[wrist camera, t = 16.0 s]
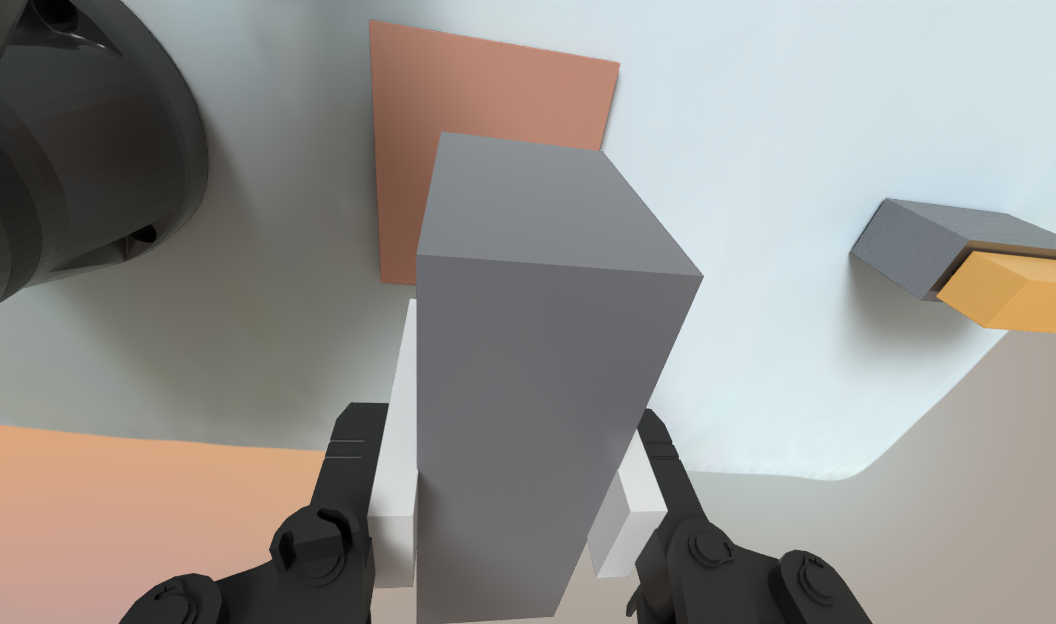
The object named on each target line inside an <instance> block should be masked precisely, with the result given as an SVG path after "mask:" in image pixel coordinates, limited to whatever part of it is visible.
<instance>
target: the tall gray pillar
mask: <svg viewBox="0 0 1056 624" xmlns="http://www.w3.org/2000/svg"><path fill="white" fill-rule="evenodd" d="M703 277H704V276H703V274H702V273H701V272H700V271H699V269H698V268H697V267H696V266H695V264H694V263H693V262H692V261H691V260H690V258H689V257H688V256H687V255H686V253H685V252H684V251H683V250H682V248H681V247H680V246H679V245H678V244H677V242H676V241H675V240H674V239H673V237H672V236H671V235H670V234H669V232H668V231H667V230H666V229H665V228H664V226H663V225H662V224H661V223H660V221H659V220H658V219H657V218H656V217H655V215H654V214H653V213H652V212H651V210H650V209H649V208H648V207H647V205H646V204H645V203H644V202H643V201H642V199H641V198H640V197H639V196H638V194H637V193H636V192H635V191H634V189H633V188H632V187H631V186H630V185H629V183H628V182H627V181H626V180H625V178H624V177H623V176H622V175H621V173H620V172H619V171H618V170H617V169H616V167H615V166H614V165H613V164H612V162H611V161H610V160H609V159H608V157H607V156H606V155H605V154H604V153H603V151H596V150H588V149H580V148H572V147H564V146H556V145H548V144H540V143H532V142H524V141H515V140H507V139H499V138H491V137H483V136H475V135H467V134H459V133H451V132H443V131H441V135H440V140H439V145H438V150H437V155H436V160H435V165H434V170H433V175H432V180H431V184H430V189H429V194H428V199H427V204H426V209H425V214H424V219H423V224H422V229H421V234H420V239H419V244H418V249H417V254H416V382H417V469H418V520H417V624H446V623H461V622H477V621H491V620H508V619H524V618H539V617H553V616H554V614H555V612H556V610H557V607H558V605H559V603H560V601H561V598H562V596H563V594H564V592H565V589H566V587H567V585H568V582H569V580H570V578H571V576H572V574H573V571H574V569H575V567H576V564H577V562H578V560H579V558H580V555H581V553H582V551H583V549H584V546H585V544H586V542H587V540H588V539H587V536H588V534H589V532H590V529H591V527H592V525H593V523H594V520H595V518H596V516H597V514H598V511H599V509H600V507H601V505H602V503H603V500H604V498H605V496H606V494H607V491H608V489H609V487H610V485H611V482H612V480H613V478H614V476H615V474H616V471H617V469H619V467H620V465H621V463H622V460H623V458H624V456H625V454H626V451H627V449H628V447H629V445H630V442H631V440H632V438H633V436H634V433H635V431H636V429H637V427H638V424H639V422H640V420H641V417H642V415H643V413H644V411H645V408H646V406H647V404H648V402H649V399H650V397H651V395H652V393H653V390H654V388H655V386H656V384H657V381H658V379H659V377H660V374H661V372H662V370H663V368H664V365H665V363H666V361H667V359H668V356H669V354H670V352H671V350H672V347H673V345H674V343H675V341H676V338H677V336H678V334H679V332H680V329H681V327H682V325H683V322H684V320H685V318H686V316H687V313H688V311H689V309H690V307H691V304H692V302H693V300H694V298H695V295H696V293H697V291H698V289H699V286H700V284H701V282H702V279H703Z"/></svg>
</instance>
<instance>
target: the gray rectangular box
mask: <svg viewBox="0 0 1056 624" xmlns="http://www.w3.org/2000/svg"><path fill="white" fill-rule="evenodd" d="M973 251H977V252H986V253H996V254H1005V255H1014V256H1023V257H1032V258H1042V259H1051V260H1056V234H1055V233H1052V232H1050V231H1047V230H1045V229H1043V228H1040V227H1038V226H1035V225H1033V224H1031V223H1028V222H1026V221H1023V220H1021V219H1018V218H1016V217H1014V216H1011V215H1009V214H1005V213H997V212H989V211H981V210H974V209H966V208H958V207H951V206H943V205H935V204H927V203H920V202H912V201H904V200H896V199H889V198H886V199H885V200H884V202H883V204H882V205H881V207H880V208H879V210H878V211H877V213H876V214H875V216H874V217H873V219H872V221H871V222H870V224H869V225H868V227H867V228H866V230H865V231H864V233H863V234H862V236H861V238H860V239H859V241H858V242H857V244H856V245H855V247H854V248H853V250H852V251H851V253H853V254H854V255H856V256H857V257H859V258H860V259H862V260H863V261H865V262H866V263H867V264H869V265H870V266H872V267H873V268H875V269H876V270H878V271H879V272H881V273H882V274H883V275H885V276H886V277H888V278H889V279H891V280H892V281H894V282H895V283H897V284H898V285H900V286H901V287H902V288H904V289H905V290H907V291H908V292H910V293H911V294H913V295H914V296H916V297H917V298H919V299H920V300H925V301H937V302H944V301H942V300H941V299H939V298H937V297H936V296H937V295H938V293H939V292H940V291H941V290H942V288H943V287H944V286H945V285H946V284H947V282H948V281H949V280H950V279H951V278H952V276H953V275H954V274H955V273H956V272H957V270H958V269H959V268H960V267H961V265H962V264H963V263H964V262H965V261H966V259H967V258H968V257H969V256H970V255H971V253H972V252H973Z"/></svg>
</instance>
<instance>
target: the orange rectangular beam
mask: <svg viewBox="0 0 1056 624" xmlns="http://www.w3.org/2000/svg"><path fill="white" fill-rule="evenodd" d="M936 297H937V298H939V299H941V300H942V301H944V302H945V303H947V304H948V305H950V306H951V307H953V308H954V309H956V310H957V311H959V312H960V313H962V314H963V315H965V316H967V317H968V318H970V319H971V320H973V321H974V322H976V323H977V324H979V325H980V326H982V327H983V328H991V329H1005V330H1020V331H1034V332H1049V333H1056V260H1051V259H1042V258H1032V257H1023V256H1014V255H1005V254H996V253H986V252H977V251H973V252H972V253H971V255H970V256H969V257H968V258H967V259H966V261H965V262H964V263H963V264H962V265H961V267H960V268H959V269H958V270H957V272H956V273H955V274H954V275H953V276H952V278H951V279H950V280H949V281H948V282H947V284H946V285H945V286H944V287H943V288H942V290H941V291H940V292H939V293H938V295H937V296H936Z"/></svg>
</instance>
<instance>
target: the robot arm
mask: <svg viewBox="0 0 1056 624" xmlns="http://www.w3.org/2000/svg"><path fill="white" fill-rule="evenodd" d="M207 176H208V151H207V144H206V139H205V134H204V130H203V126H202V123H201V120H200V117H199V114H198V111H197V109H196V106H195V104H194V102H193V99H192V97H191V95H190V93H189V91H188V89H187V87H186V85H185V83H184V81H183V79H182V78H181V76H180V74H179V73H178V71H177V69H176V68H175V66H174V65H173V63H172V62H171V60H170V59H169V57H168V56H167V54H166V53H165V51H164V50H163V49H162V47H161V46H160V45H159V43H158V42H157V41H156V39H155V38H154V37H153V36H152V34H151V33H150V32H149V31H148V30H147V28H146V27H145V26H144V25H143V24H142V23H141V22H140V21H139V19H138V18H137V17H136V16H135V15H134V14H133V13H132V12H131V11H130V10H129V9H128V8H127V7H126V6H125V5H124V4H123V3H122V2H121V1H120V0H0V303H1V302H2V301H4V300H5V299H7V298H8V297H10V296H12V295H13V294H15V293H16V292H18V291H20V290H21V289H23V288H27V287H31V286H35V285H38V284H42V283H46V282H50V281H54V280H58V279H62V278H65V277H69V276H73V275H77V274H81V273H85V272H89V271H92V270H96V269H100V268H104V267H108V266H112V265H115V264H119V263H123V262H126V261H129V260H131V259H134V258H136V257H139V256H141V255H143V254H145V253H147V252H149V251H151V250H152V249H154V248H155V247H157V246H158V245H160V244H161V243H162V242H163V241H165V240H166V239H167V238H168V237H170V236H171V235H172V234H173V233H175V232H176V231H177V230H178V229H180V228H181V227H182V226H183V225H184V224H185V223H186V222H187V221H188V220H189V219H190V218H191V217H192V215H193V214H194V213H195V211H196V209H197V208H198V206H199V204H200V202H201V200H202V197H203V194H204V191H205V187H206V183H207ZM417 520H418V469H417V382H416V299H410V302H409V307H408V312H407V317H406V322H405V327H404V332H403V337H402V342H401V347H400V352H399V357H398V362H397V367H396V373H395V378H394V383H393V388H392V393H391V398H390V403H353V402H351V403H350V404H349V405H348V407H347V408H346V409H345V410H344V411H343V412H342V414H341V415H340V416H339V417H338V418H337V419H336V423H335V426H334V429H333V432H332V435H331V439H330V443H329V445H328V448H327V451H326V454H325V460H324V461H323V464H322V467H321V470H320V474H319V477H318V480H317V484H316V486H315V490H314V493H313V496H312V499H311V503H310V505H309V506H306V507H303V508H301V509H299V510H298V511H297V512H295V513H294V514H292V515H291V516H289V517H288V518H287V519H286V520H285V521H284V522H283V524H282V525H281V526H280V528H279V529H278V530H277V531H276V532H275V534H274V537H273V540H272V543H271V546H270V548H269V551H270V553H271V556H272V560H270V561H269V562H267V563H264V564H262V565H260V566H258V567H255V568H252V569H249V570H247V571H244V572H241V573H238V574H235V575H232V576H229V577H226V578H223V579H220V580H218V581H215V582H214V581H213V580H212V579H211V578H210V577H209V576H205V575H200V574H195V573H192V574H186V575H181V576H175V577H173V578H171V579H169V580H167V581H164V582H162V583H160V584H159V585H156V586H154V587H153V588H152V589H151V590H149V591H148V592H147V593H146V594H144V595H143V596H142V597H141V598H139V599H138V600H137V601H136V602H135V603H134V604H133V605H132V607H131V608H130V609H129V610H128V612H127V613H126V614H125V616H124V617H123V618H122V619H121V621H120V622H119V624H371V612H370V605H371V599H372V593H373V587H374V585H375V588H395V587H412V586H413V580H414V570H415V560H416V559H415V558H416V549H417ZM587 539H588V543H589V548H590V553H591V557H592V562H593V567H594V571H595V576H596V578H612V577H628V576H629V574H630V573H631V571H632V569H633V568H634V566H635V565H636V568H637V572H638V576H639V579H640V582H641V583H640V585H639V586H638V588H637V590H636V591H635V592H634V594H633V596H632V597H631V599H630V601H629V602H628V604H627V611H626V616H628V617H631V616H632V614H633V613H634V612H635V610H636V609H637V619H638V624H872V622H871V621H870V619H869V618H868V616H867V615H866V613H865V612H864V610H863V609H862V607H861V606H860V604H859V603H858V601H857V600H856V598H855V596H854V595H853V593H852V592H851V590H850V589H849V587H848V586H847V585H846V583H845V582H844V580H843V579H842V578H841V577H840V575H838V573H837V572H836V571H835V569H834V568H833V567H831V566H830V565H829V564H828V563H826V562H825V561H824V560H822V559H821V558H820V557H818V556H816V555H814V554H811V553H809V552H807V551H801V550H793V551H790V552H788V553H785V554H784V555H783V557H782V558H781V559H780V560H779V559H776V558H773V557H769V556H766V555H763V554H760V553H757V552H753V551H751V550H747V549H744V548H742V547H739V546H737V545H735V544H733V542H732V541H731V540H730V539H729V537H728V536H727V535H726V534H725V533H724V532H723V531H722V530H721V529H719V528H718V527H716V526H715V525H714V524H712V523H710V522H709V520H708V519H707V517H706V515H705V513H704V511H703V509H702V507H701V505H700V502H699V500H698V498H697V495H696V493H695V491H694V489H693V487H692V484H691V482H690V480H689V478H688V476H687V473H686V471H685V469H684V466H683V464H682V462H681V460H679V455H678V453H677V451H676V449H675V446H674V445H672V440H671V437H670V435H669V433H668V431H667V428H666V426H665V424H664V423H663V422H662V421H661V420H660V419H659V417H658V416H657V415H656V414H655V413H654V412H653V411H652V410H651V409H645V411H644V413H643V415H642V417H641V420H640V422H639V424H638V427H637V429H636V431H635V433H634V436H633V438H632V440H631V442H630V445H629V447H628V449H627V451H626V454H625V456H624V458H623V460H622V463H621V465H620V467H619V469H617V471H616V474H615V476H614V478H613V480H612V482H611V485H610V487H609V489H608V491H607V494H606V496H605V498H604V500H603V503H602V505H601V507H600V509H599V511H598V514H597V516H596V518H595V520H594V523H593V525H592V527H591V529H590V532H589V534H588V536H587Z"/></svg>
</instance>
